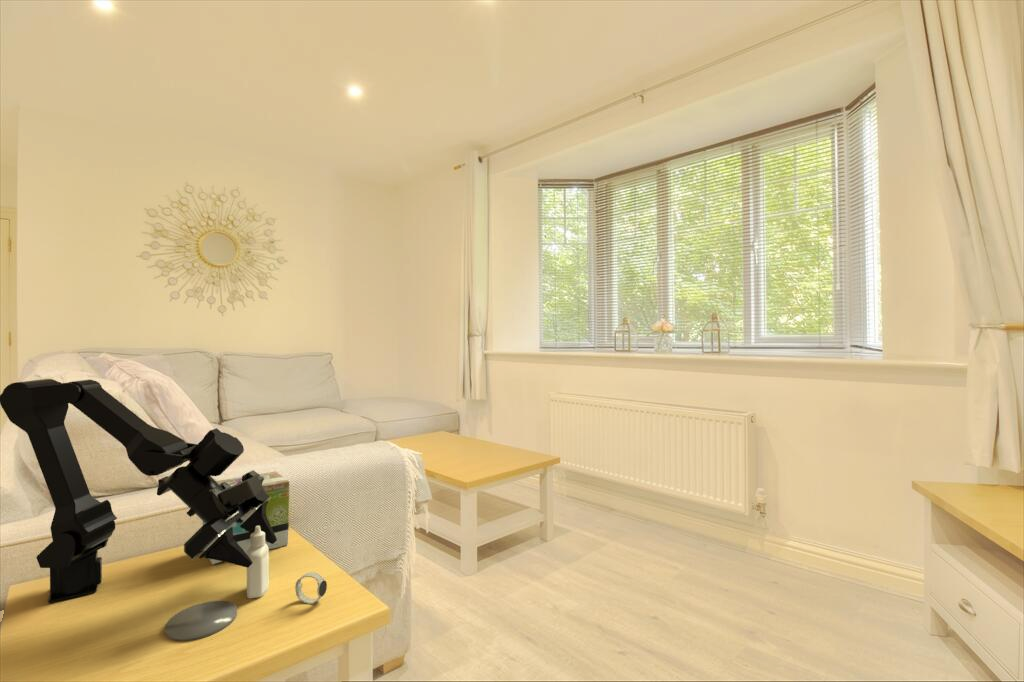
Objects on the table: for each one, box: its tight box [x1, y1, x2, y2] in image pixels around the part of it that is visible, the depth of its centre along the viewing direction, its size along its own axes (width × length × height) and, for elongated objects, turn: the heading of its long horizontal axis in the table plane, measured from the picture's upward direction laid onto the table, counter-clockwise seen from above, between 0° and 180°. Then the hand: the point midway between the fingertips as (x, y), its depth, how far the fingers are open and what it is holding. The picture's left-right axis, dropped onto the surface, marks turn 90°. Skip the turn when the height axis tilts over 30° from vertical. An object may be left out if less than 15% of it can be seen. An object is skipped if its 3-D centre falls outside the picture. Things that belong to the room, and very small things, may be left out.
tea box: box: [202, 471, 290, 565], centre depth 107 cm, size 15×10×15 cm, turn 132°
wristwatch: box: [294, 571, 328, 605], centre depth 87 cm, size 3×5×5 cm, turn 81°
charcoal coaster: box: [164, 600, 238, 642], centre depth 80 cm, size 10×10×1 cm
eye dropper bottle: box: [246, 526, 270, 599], centre depth 90 cm, size 4×6×12 cm
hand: (263, 553), depth 90 cm, fingers open, 9 cm apart
